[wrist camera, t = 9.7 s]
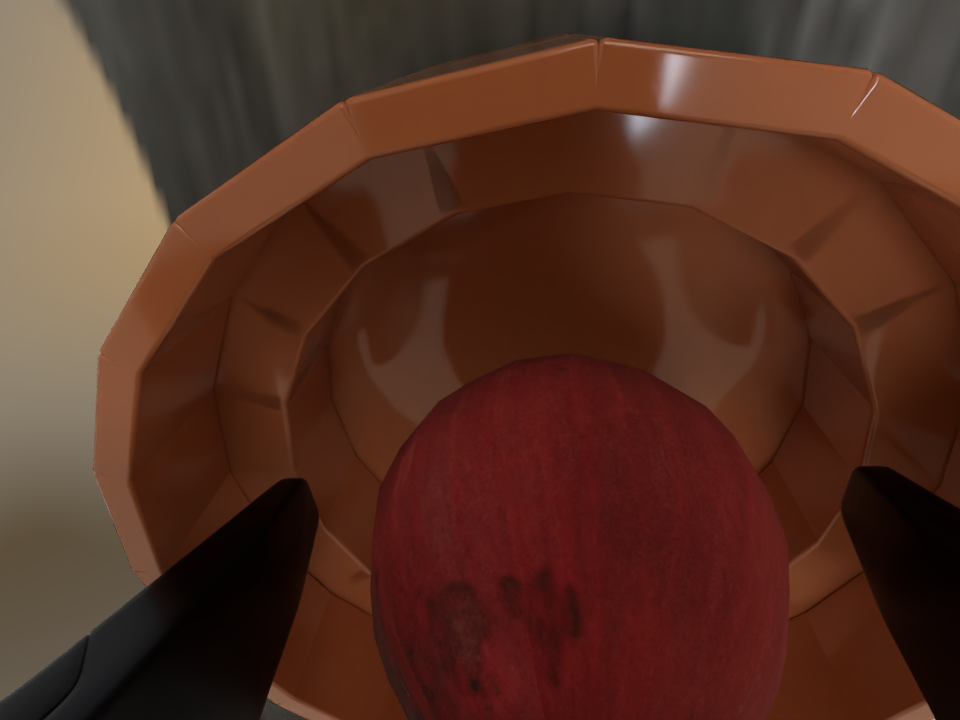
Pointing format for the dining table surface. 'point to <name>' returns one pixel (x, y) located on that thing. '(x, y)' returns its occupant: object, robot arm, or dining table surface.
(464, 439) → the onion
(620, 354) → the bowl
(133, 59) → the dining table surface
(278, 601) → the robot arm
